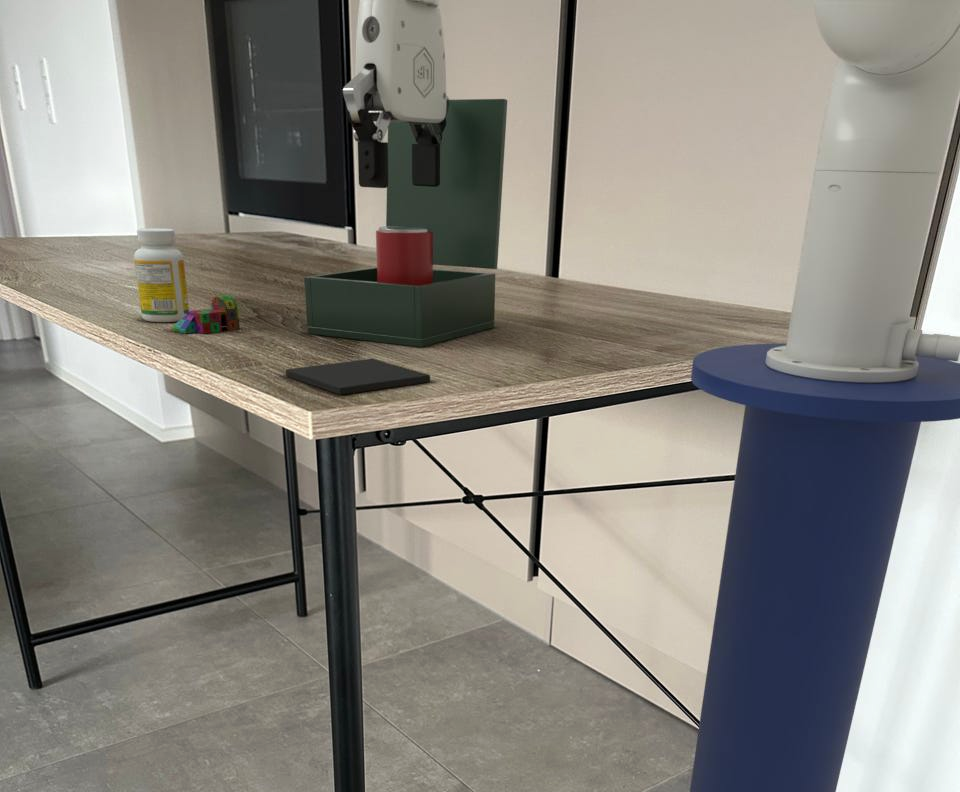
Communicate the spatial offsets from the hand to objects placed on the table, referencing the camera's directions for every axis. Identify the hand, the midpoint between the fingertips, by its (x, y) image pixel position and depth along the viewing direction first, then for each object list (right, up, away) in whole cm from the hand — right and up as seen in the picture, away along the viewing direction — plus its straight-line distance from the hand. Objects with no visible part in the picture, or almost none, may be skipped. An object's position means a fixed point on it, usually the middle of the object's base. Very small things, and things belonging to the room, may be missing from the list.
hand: (400, 186), depth 97 cm
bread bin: (0, -12, +8) cm, 15 cm away
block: (-22, -13, +6) cm, 26 cm away
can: (0, -12, +6) cm, 14 cm away
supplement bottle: (-28, -10, +12) cm, 32 cm away
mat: (-2, -24, -16) cm, 29 cm away
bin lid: (+4, +4, +7) cm, 9 cm away
